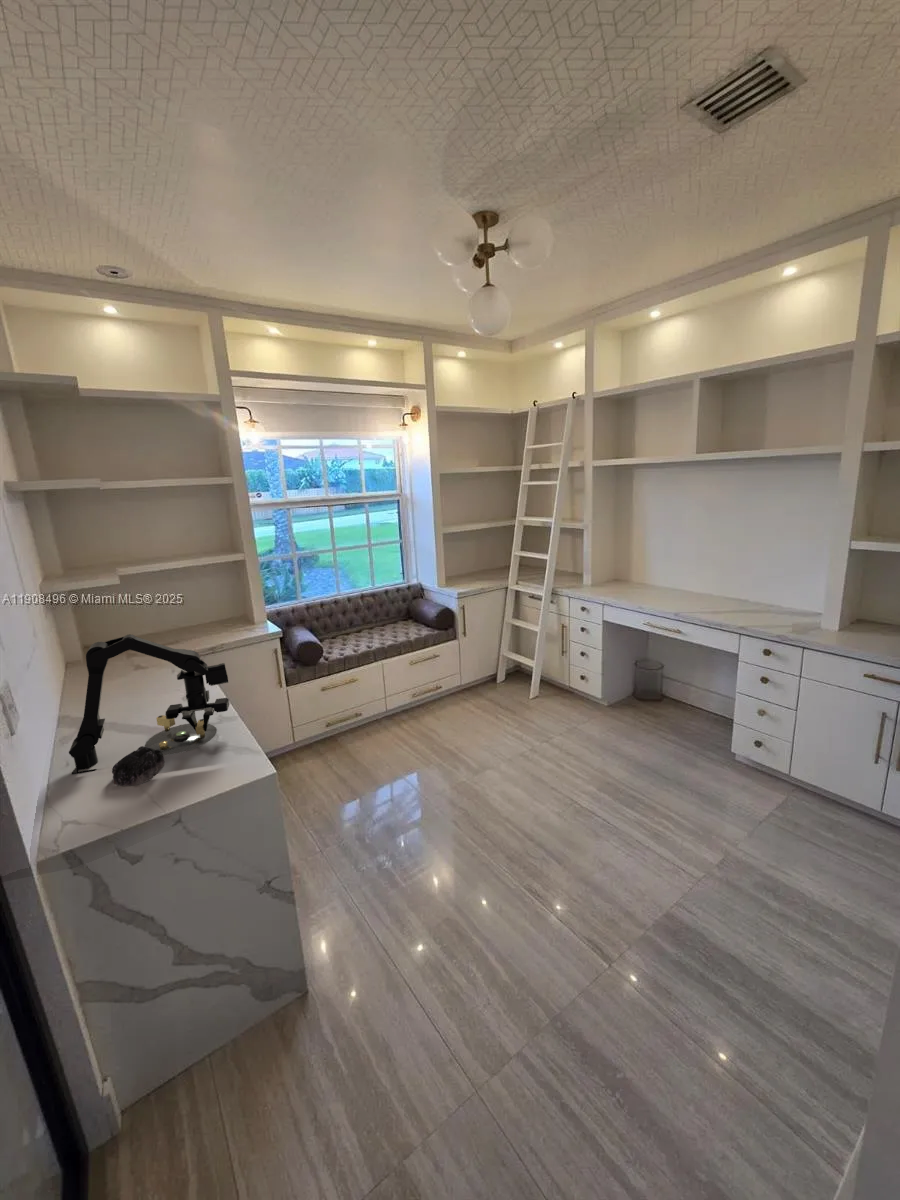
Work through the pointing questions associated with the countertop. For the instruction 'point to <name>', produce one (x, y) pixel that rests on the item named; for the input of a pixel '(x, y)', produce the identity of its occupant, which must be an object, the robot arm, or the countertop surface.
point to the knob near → (200, 728)
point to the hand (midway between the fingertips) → (201, 731)
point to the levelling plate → (180, 739)
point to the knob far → (165, 722)
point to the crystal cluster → (138, 766)
